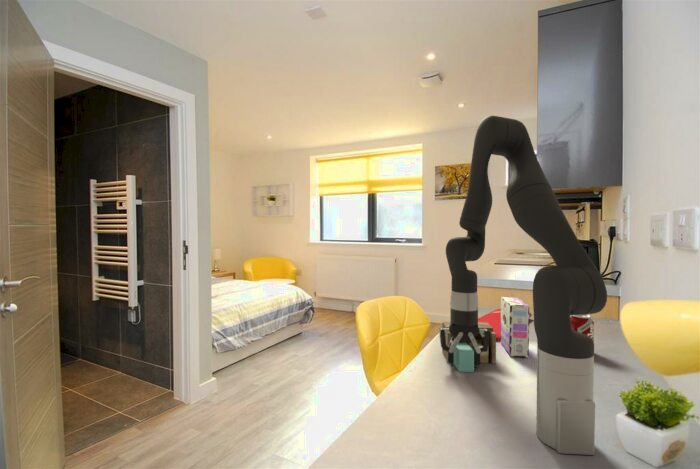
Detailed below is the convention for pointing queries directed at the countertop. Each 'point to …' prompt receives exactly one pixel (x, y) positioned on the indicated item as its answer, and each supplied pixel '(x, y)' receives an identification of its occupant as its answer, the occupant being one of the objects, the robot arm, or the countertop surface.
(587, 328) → the soda can
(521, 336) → the candy box
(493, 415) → the countertop surface
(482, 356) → the oak offcut
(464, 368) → the block
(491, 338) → the shelf
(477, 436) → the countertop surface
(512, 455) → the countertop surface
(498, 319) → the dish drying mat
